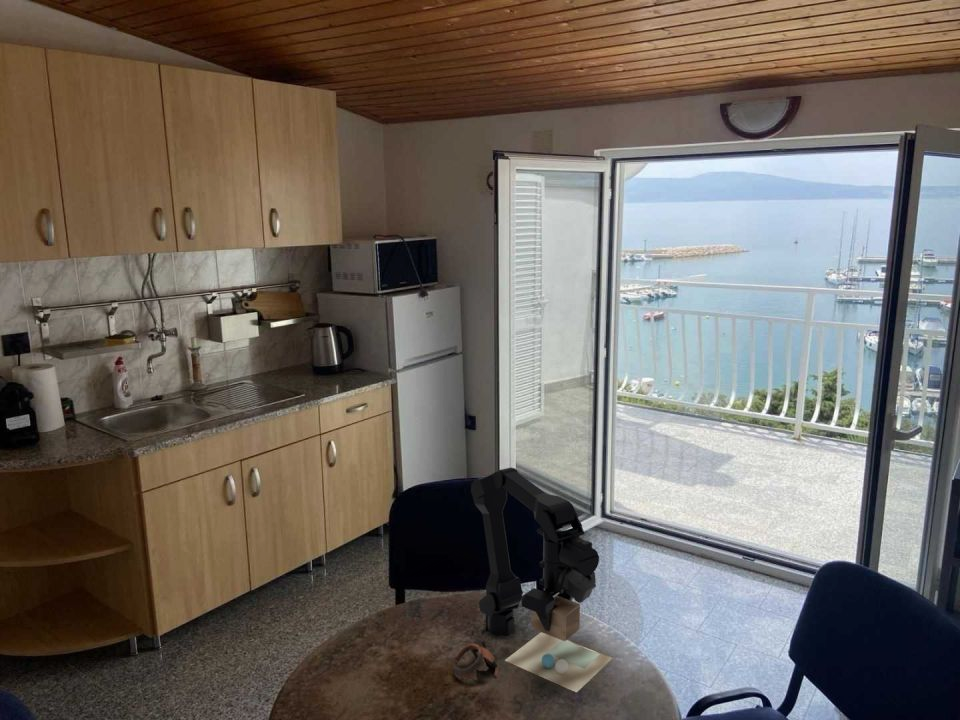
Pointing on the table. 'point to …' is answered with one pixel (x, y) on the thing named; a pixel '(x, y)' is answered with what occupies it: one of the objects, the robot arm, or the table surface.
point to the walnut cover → (560, 619)
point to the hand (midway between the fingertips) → (555, 624)
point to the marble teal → (548, 660)
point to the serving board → (577, 657)
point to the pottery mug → (480, 663)
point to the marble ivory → (561, 666)
